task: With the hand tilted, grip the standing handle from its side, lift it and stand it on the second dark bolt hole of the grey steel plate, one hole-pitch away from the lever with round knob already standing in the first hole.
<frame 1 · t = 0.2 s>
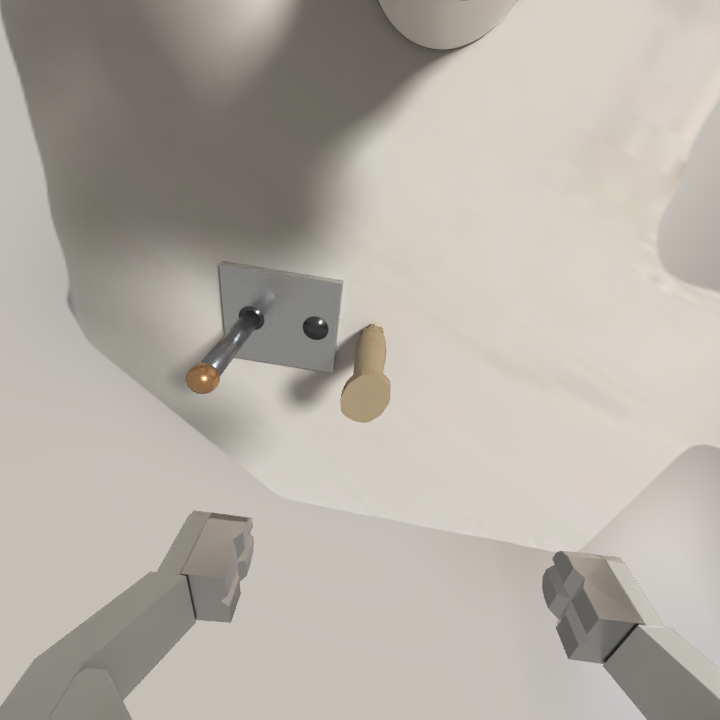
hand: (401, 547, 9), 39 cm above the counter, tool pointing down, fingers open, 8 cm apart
handle: (373, 332, 50), on the counter
plate: (282, 319, 50), on the counter
lever with round knob: (251, 318, 49), resting on plate
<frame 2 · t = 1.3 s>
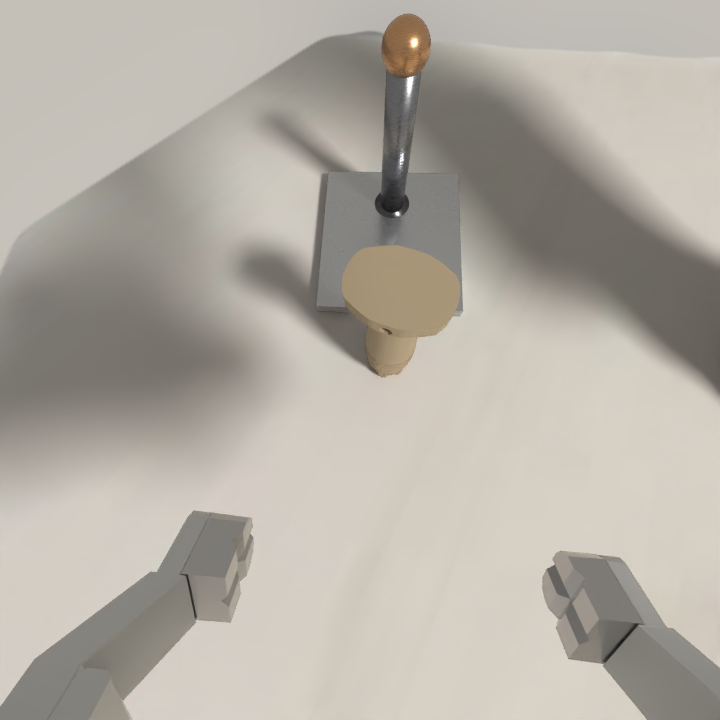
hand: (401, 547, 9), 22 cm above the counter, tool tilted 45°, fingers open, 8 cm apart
handle: (386, 362, 34), on the counter
plate: (390, 243, 37), on the counter
lever with round knob: (391, 203, 37), resting on plate
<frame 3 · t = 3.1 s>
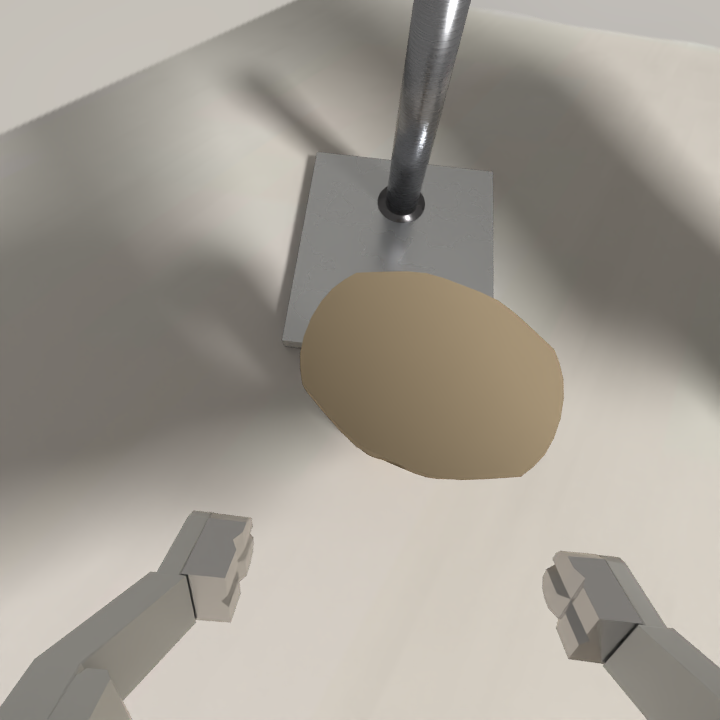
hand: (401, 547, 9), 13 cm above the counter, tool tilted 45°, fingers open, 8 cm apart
handle: (378, 431, 23), on the counter
plate: (395, 257, 27), on the counter
lever with round knob: (401, 203, 27), resting on plate
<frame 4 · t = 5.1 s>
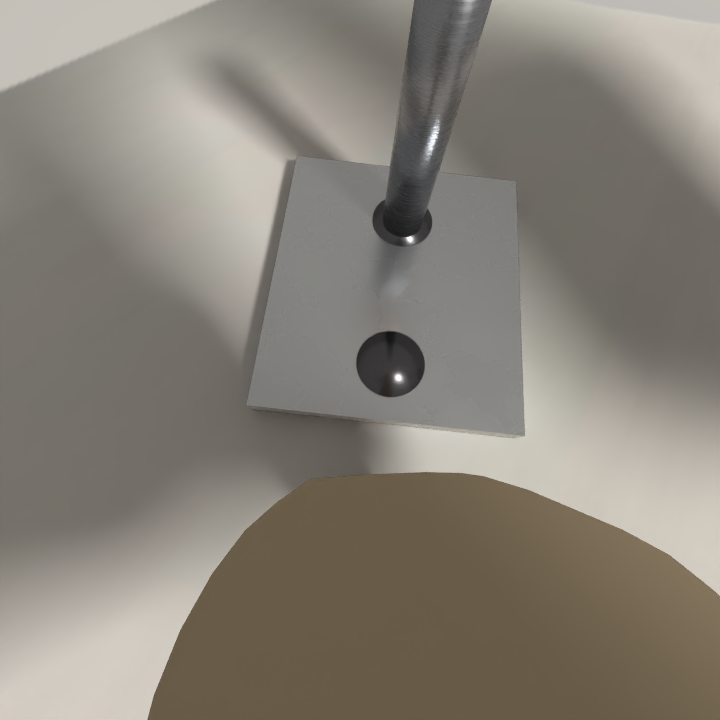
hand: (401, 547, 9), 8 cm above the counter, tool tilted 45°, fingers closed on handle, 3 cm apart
handle: (374, 525, 17), on the counter, touching gripper
plate: (394, 289, 21), on the counter
lever with round knob: (402, 220, 21), resting on plate
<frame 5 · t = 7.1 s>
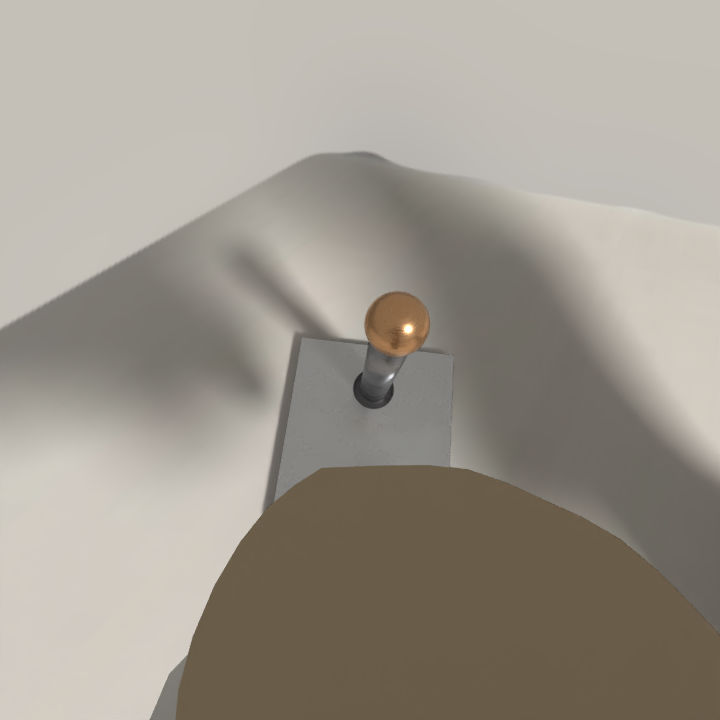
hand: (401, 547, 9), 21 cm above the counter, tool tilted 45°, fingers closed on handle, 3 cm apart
handle: (373, 525, 18), point 12 cm above the counter, touching gripper
plate: (367, 435, 31), on the counter
lever with round knob: (373, 388, 31), resting on plate
when the fingers open (11 cm above the counter, at t = 9.4 s): handle stays where it is, resting on plate.
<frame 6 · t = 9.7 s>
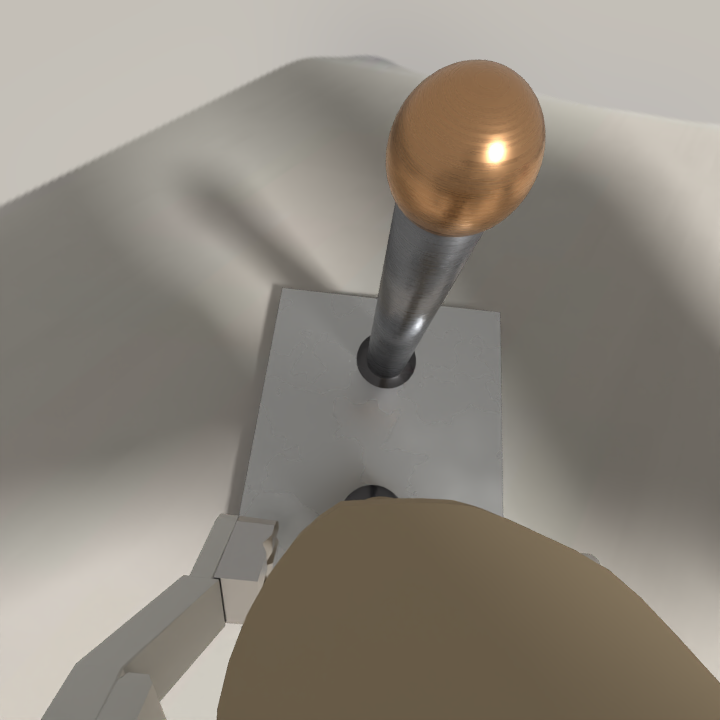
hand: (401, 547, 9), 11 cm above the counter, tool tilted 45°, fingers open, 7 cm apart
handle: (375, 529, 19), point 1 cm above the counter, touching plate
plate: (378, 428, 21), on the counter
lever with round knob: (386, 359, 21), resting on plate
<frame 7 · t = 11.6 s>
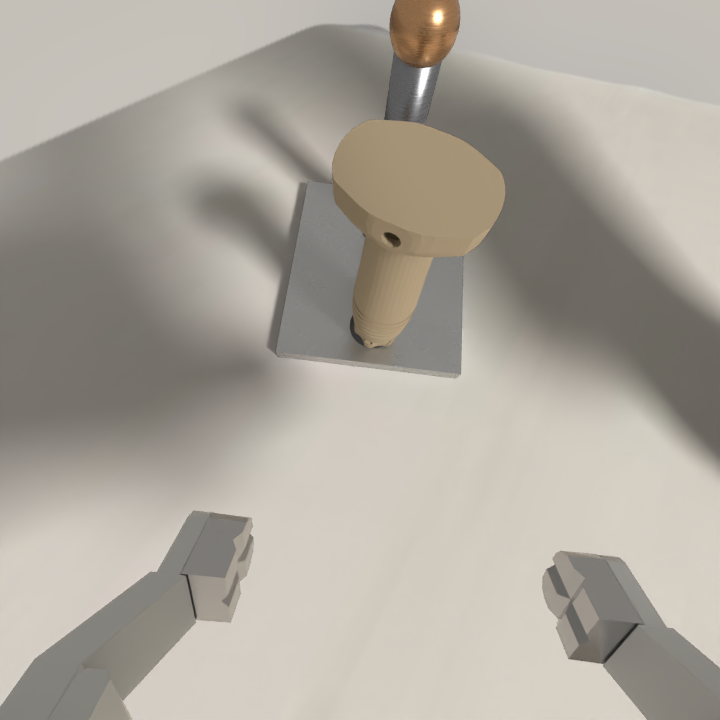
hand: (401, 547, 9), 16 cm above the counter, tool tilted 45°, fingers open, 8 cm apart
handle: (375, 332, 27), point 1 cm above the counter, touching plate
plate: (377, 277, 30), on the counter
lever with round knob: (382, 229, 30), resting on plate
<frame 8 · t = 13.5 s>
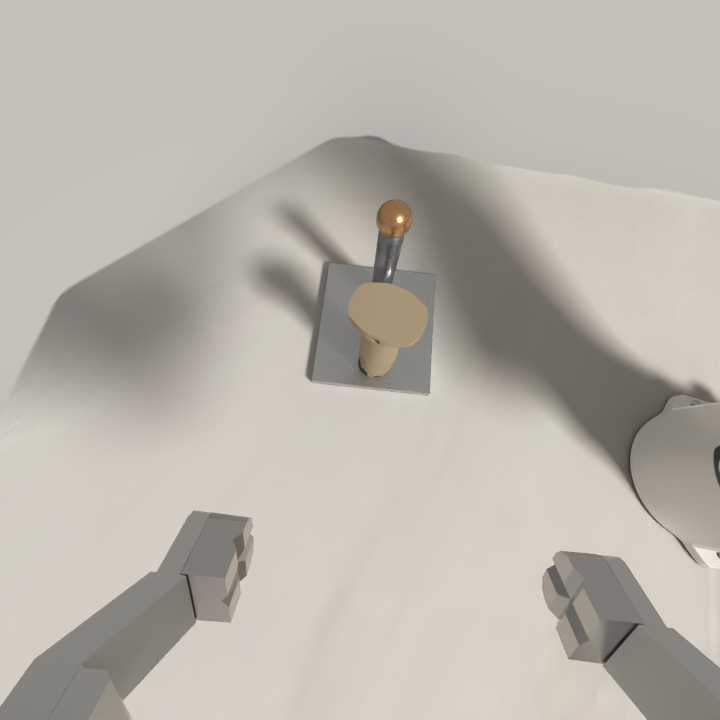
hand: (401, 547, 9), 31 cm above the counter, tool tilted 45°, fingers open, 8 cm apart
handle: (374, 366, 43), point 1 cm above the counter, touching plate
plate: (376, 328, 45), on the counter
lever with round knob: (379, 295, 45), resting on plate
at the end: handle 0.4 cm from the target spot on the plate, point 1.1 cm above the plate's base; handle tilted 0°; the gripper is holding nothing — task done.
